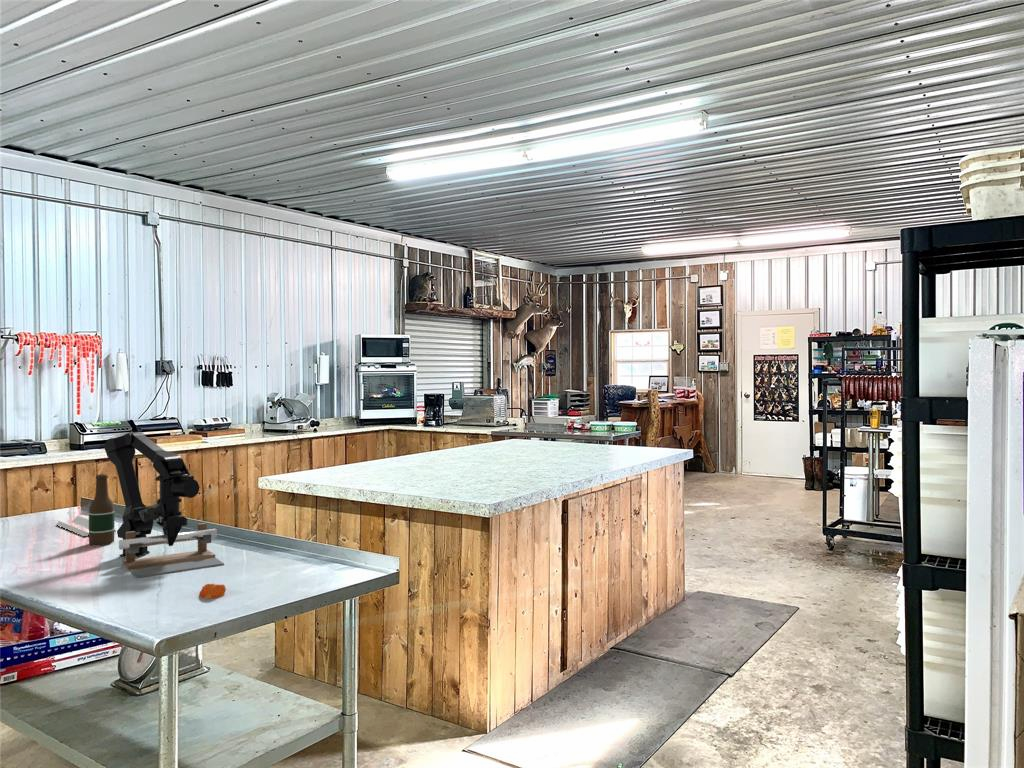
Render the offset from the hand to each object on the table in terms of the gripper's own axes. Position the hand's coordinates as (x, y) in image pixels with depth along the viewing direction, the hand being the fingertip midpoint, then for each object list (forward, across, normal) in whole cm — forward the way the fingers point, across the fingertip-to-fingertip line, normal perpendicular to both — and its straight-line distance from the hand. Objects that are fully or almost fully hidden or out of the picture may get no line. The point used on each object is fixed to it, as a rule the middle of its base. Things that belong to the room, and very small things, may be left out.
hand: (169, 545), depth 225 cm
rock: (+6, +46, 0) cm, 46 cm away
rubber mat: (+5, +11, 0) cm, 12 cm away
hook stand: (+5, 0, 0) cm, 5 cm away
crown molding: (+6, -72, -13) cm, 74 cm away
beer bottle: (+5, -41, -13) cm, 43 cm away
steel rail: (-1, 0, 0) cm, 1 cm away
